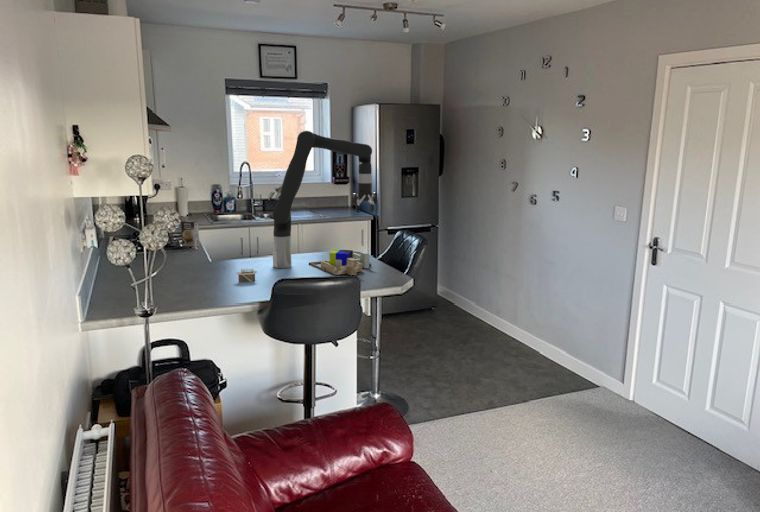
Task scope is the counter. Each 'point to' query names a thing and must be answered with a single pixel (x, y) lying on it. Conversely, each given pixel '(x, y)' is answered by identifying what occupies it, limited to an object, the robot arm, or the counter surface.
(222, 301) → the counter surface
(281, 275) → the counter surface
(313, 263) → the lane rails
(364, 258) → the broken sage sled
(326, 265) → the beige lumpy mound
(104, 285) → the counter surface
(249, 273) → the wooden crate
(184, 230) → the coffee box
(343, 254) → the puzzle toy
